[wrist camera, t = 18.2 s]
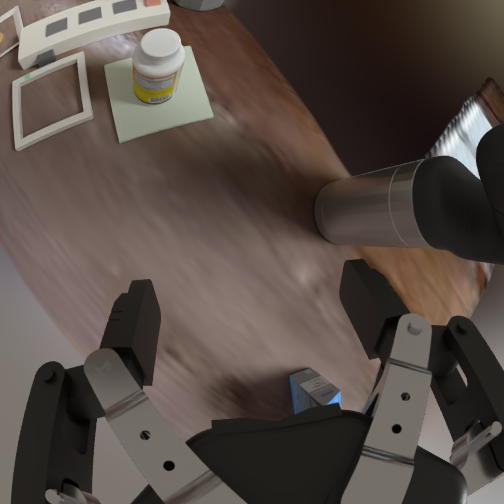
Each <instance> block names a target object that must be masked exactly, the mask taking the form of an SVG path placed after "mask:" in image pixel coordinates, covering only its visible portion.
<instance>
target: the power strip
mask: <svg viewBox="0 0 504 504" xmlns="http://www.w3.org/2000/svg"><path fill="white" fill-rule="evenodd" d="M169 18H170V10H169V6H168V3H167V0H95V1H92V2H89V3H85V4H82V5H79V6H76V7H73V8H70V9H67V10H65V11H62V12H59V13H57V14H54V15H52V16H49V17H47V18H44V19H42V20H40V21H37V22H35V23H33V24H31V25H28V26H26V27H24V28H22V29H21V34H20V43H19V54H18V61H19V63H20V65H21V66H22V68H23V70H25V69H27V68H29V67H31V66H33V65H36V64H38V65H39V67H40V68H42V67H44V66H46V65H49V64H51V63H53V62H56V55H59V54H61V53H64V52H67V51H69V50H72V49H75V48H78V47H80V46H83V45H86V44H89V43H92V42H96V41H99V40H102V39H106V38H109V37H113V36H116V35H120V34H124V33H128V32H133V31H137V30H142V29H146V28H151V27H157V26H162V25H168V23H169Z"/></svg>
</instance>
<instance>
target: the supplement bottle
mask: <svg viewBox="0 0 504 504" xmlns="http://www.w3.org/2000/svg"><path fill="white" fill-rule="evenodd" d="M184 60H185V50H184V47H183V46H182V44H181V39H180V37H179V35H178V34H177V33H176V32H174V31H172V30H169V29H155V30H152V31H150V32H148V33H147V34H145V35H144V37H143V38H142V40H141V43H140V44H139V45H138V46H137V47H136V49H135V50H134V53H133V58H132V66H133V89H134V94H135V96H136V97H137V99H138V100H139V101H140V102H142V103H144V104H147V105H160V104H163V103H165V102H167V101H169V100H170V99H171V98H172V97H173V96H174V94H175V93H176V90H177V87H178V82H179V79H180V75H181V71H182V67H183V64H184Z"/></svg>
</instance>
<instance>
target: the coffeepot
mask: <svg viewBox="0 0 504 504" xmlns="http://www.w3.org/2000/svg"><path fill="white" fill-rule="evenodd" d="M174 1H175V2H176V3H177V4H178V5H179V6H181V7H184V8H187V9H190V10H196V11H206V10H211V9H215V8H217V7H220V6H221V5H222V3H223V2H224V0H174Z"/></svg>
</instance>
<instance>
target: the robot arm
mask: <svg viewBox="0 0 504 504" xmlns="http://www.w3.org/2000/svg"><path fill="white" fill-rule="evenodd" d="M476 165H477V168H478V173H479V176H480V179H481V180H480V179H478V178H477V177H476V176H475V175H474V174H473V173H472V172H470V171H469V170H468V169H467V168H466V167H465V166H464V165H463V164H462V163H461V162H460V161H458V160H457V159H455V158H453V157H450V156H437V157H433V158H428V159H423V160H419V161H415V162H410V163H406V164H402V165H398V166H394V167H390V168H386V169H382V170H378V171H374V172H370V173H366V174H362V175H358V176H354V177H350V178H346V179H342V180H339V181H335V182H332V183H329V184H327V185H325V186H324V187H323V188H322V189H321V190H320V192H319V193H318V195H317V198H316V201H315V206H314V216H315V221H316V224H317V227H318V229H319V231H320V232H321V234H322V235H323V236H324V237H325V238H326V239H327V240H328V241H330V242H331V243H334V244H337V245H355V246H376V247H398V248H422V249H441V250H448V251H450V252H451V253H453V254H455V255H457V256H458V257H461V258H464V259H467V260H472V261H479V262H486V263H493V264H499V265H504V123H502V124H499V125H497V126H496V127H494V128H492V129H491V130H489V131H488V132H487V133H486V134H485V135H484V136H483V137H482V138H481V140H480V142H479V144H478V146H477V150H476ZM339 292H340V300H341V303H342V305H343V307H344V309H345V311H346V313H347V315H348V317H349V319H350V321H351V323H352V325H353V327H354V329H355V331H356V333H357V335H358V337H359V339H360V341H361V343H362V345H363V348H364V350H365V352H366V354H367V356H368V358H369V360H371V359H375V358H379V359H380V361H381V363H380V365H379V368H378V371H377V374H376V377H375V380H374V383H373V386H372V389H371V392H370V395H369V397H368V400H367V403H366V405H365V407H364V409H363V411H362V413H360V412H356V411H351V410H341V407H340V404H339V402H336V403H332V404H328V405H323V406H318V407H313V408H309V409H306V410H304V411H302V412H299V413H297V414H295V415H292V416H290V417H287V418H285V419H282V420H279V421H270V420H259V419H250V418H236V419H224V420H212V428H211V429H207V430H205V431H202V432H200V433H198V434H196V435H194V436H193V437H191V438H190V439H188V440H187V441H186V442H184V441H183V440H182V439H181V438H180V437H179V435H178V434H177V433H176V432H175V431H174V430H173V428H172V427H171V426H170V425H169V424H168V422H167V421H166V420H165V419H164V417H163V416H162V415H161V414H160V412H159V411H158V410H157V408H156V407H155V406H154V405H153V403H152V402H151V401H150V399H149V398H148V397H147V395H146V394H145V393H144V392H143V391H142V390H143V386H152V382H153V373H154V365H155V358H156V350H157V343H158V336H159V330H160V323H161V312H160V307H159V304H158V301H157V297H156V294H155V291H154V287H153V284H152V281H151V280H150V279H144V280H133V281H132V282H131V285H130V288H129V291H128V293H122V294H121V295H120V296H119V297H118V299H117V300H116V301H115V302H114V305H113V308H112V311H111V313H110V316H109V321H108V322H107V326H106V329H105V332H104V335H103V338H102V341H101V345H100V348H99V349H98V350H96V351H94V352H92V353H91V354H90V355H89V356H88V357H87V359H86V360H85V363H84V365H81V366H77V367H73V368H69V369H64V367H63V366H62V365H61V364H60V363H58V362H55V361H52V362H48V363H45V364H44V365H42V366H41V367H40V368H39V369H38V371H37V373H36V375H35V378H34V381H33V384H32V388H31V391H30V395H29V398H28V402H27V406H26V410H25V414H24V418H23V422H22V427H21V431H20V436H19V441H18V447H17V453H16V460H15V466H14V474H13V483H12V494H11V504H101V503H100V502H99V500H98V499H97V498H96V497H95V496H93V495H92V473H93V471H92V470H93V455H94V442H95V432H96V422H97V418H100V417H106V420H107V422H108V423H109V425H110V427H111V428H112V430H113V432H114V433H115V435H116V437H117V438H118V440H119V441H120V443H121V445H122V446H123V448H124V449H125V451H126V452H127V454H128V455H129V457H130V458H131V460H132V461H133V462H134V464H135V465H136V467H137V468H138V469H139V471H140V472H141V473H142V475H143V476H144V478H145V479H146V480H147V482H148V483H149V484H148V485H147V486H146V487H145V488H144V490H143V491H142V492H141V493H140V494H139V495H138V496H137V497H136V498H135V499H134V501H133V502H132V503H131V504H466V503H467V497H468V496H469V495H470V494H472V493H474V492H475V491H477V490H478V489H480V488H481V487H483V486H485V485H486V484H488V483H490V482H492V481H494V480H496V479H498V478H499V477H501V476H503V475H504V371H503V369H502V367H501V366H500V364H499V362H498V361H497V359H496V357H495V355H494V354H493V352H492V351H491V349H490V348H489V346H488V345H487V343H486V341H485V340H484V338H483V337H482V335H481V334H480V333H479V331H478V329H477V328H476V326H475V325H474V324H473V322H471V321H470V320H469V319H468V318H466V317H463V316H454V317H452V318H451V319H450V320H449V322H448V324H447V326H440V325H430V323H429V322H428V321H427V320H426V319H425V318H424V317H422V316H420V315H418V314H412V313H410V311H409V310H408V308H407V307H406V305H405V304H404V303H403V301H402V300H401V298H400V297H399V295H398V294H397V293H396V291H394V289H393V287H392V286H391V285H390V283H389V282H388V280H387V279H386V278H385V276H384V275H383V274H381V273H380V272H378V271H377V270H376V269H371V268H370V267H369V266H368V264H367V263H366V262H365V260H364V259H355V260H346V261H345V263H344V267H343V273H342V279H341V284H340V291H339ZM458 364H459V365H460V367H461V369H462V370H463V372H464V374H465V376H466V378H467V383H468V385H467V387H466V385H465V383H464V381H463V379H462V377H461V375H460V373H459V371H458V370H457V368H456V366H457V365H458ZM430 387H431V389H432V391H433V394H434V396H435V398H436V400H437V403H438V405H439V407H440V410H441V412H442V414H443V417H444V419H445V421H446V424H447V426H448V429H449V431H450V434H451V436H452V439H453V442H454V444H453V447H452V454H451V456H450V463H449V462H447V461H445V460H443V459H441V458H439V457H438V456H436V455H434V454H432V453H430V452H429V451H427V450H425V449H423V448H421V447H420V446H418V445H417V444H418V440H419V436H420V432H421V428H422V424H423V420H424V415H425V410H426V406H427V401H428V395H429V389H430Z"/></svg>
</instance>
